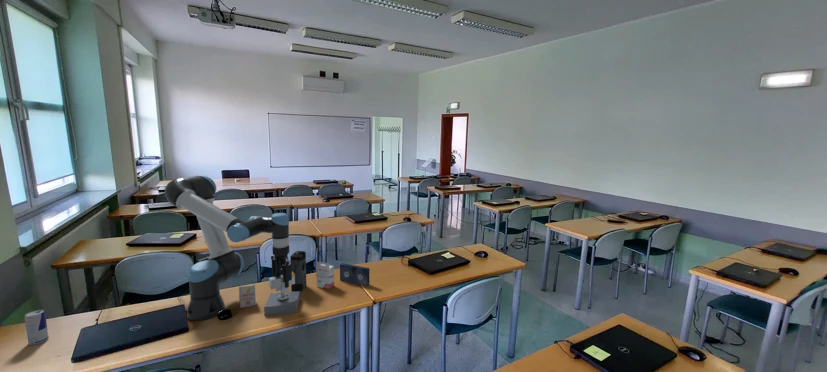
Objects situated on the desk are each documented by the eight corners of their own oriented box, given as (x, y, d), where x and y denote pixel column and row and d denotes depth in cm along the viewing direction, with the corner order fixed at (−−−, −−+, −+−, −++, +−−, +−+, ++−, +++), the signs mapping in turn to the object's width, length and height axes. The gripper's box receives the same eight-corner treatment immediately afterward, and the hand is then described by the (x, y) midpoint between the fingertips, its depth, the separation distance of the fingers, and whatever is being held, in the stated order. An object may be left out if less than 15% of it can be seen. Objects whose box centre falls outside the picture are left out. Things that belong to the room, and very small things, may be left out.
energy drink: (52, 337, 134) (48, 309, 132) (38, 345, 129) (34, 316, 127) (39, 337, 134) (35, 309, 132) (24, 345, 128) (19, 316, 127)
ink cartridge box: (334, 285, 187) (334, 260, 185) (329, 289, 182) (329, 263, 180) (321, 283, 189) (320, 258, 187) (316, 287, 185) (315, 261, 182)
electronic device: (301, 292, 177) (300, 256, 174) (290, 292, 177) (289, 256, 175) (307, 285, 186) (306, 250, 184) (296, 284, 187) (295, 250, 184)
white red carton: (240, 304, 163) (239, 285, 162) (255, 302, 166) (254, 283, 165) (239, 308, 160) (238, 288, 159) (255, 305, 163) (254, 286, 161)
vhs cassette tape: (369, 284, 189) (369, 267, 188) (367, 286, 187) (367, 269, 185) (342, 278, 196) (342, 262, 195) (339, 280, 193) (339, 264, 192)
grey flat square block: (264, 315, 154) (264, 306, 154) (271, 300, 168) (270, 292, 167) (295, 312, 157) (295, 304, 156) (299, 298, 171) (299, 291, 170)
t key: (272, 303, 157) (271, 279, 155) (269, 299, 161) (268, 276, 159) (295, 297, 163) (295, 274, 162) (292, 293, 167) (292, 271, 166)
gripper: (299, 247, 156) (300, 294, 159) (276, 240, 166) (278, 284, 169) (285, 251, 150) (286, 300, 153) (262, 243, 160) (264, 289, 163)
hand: (282, 291), depth 161 cm, fingers closed on t key, 5 cm apart
